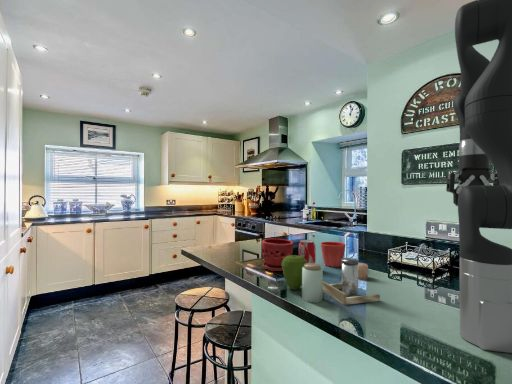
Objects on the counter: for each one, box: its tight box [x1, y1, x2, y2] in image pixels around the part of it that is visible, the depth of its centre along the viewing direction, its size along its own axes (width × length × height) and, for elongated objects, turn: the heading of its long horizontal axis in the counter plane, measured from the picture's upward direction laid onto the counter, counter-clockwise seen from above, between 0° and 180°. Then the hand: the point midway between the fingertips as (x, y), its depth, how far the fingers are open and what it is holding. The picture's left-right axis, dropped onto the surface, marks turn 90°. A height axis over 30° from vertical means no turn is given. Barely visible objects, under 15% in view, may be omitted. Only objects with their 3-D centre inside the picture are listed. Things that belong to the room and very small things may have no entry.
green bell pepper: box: [281, 254, 307, 291], centre depth 90 cm, size 9×8×12 cm
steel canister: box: [341, 257, 359, 297], centre depth 85 cm, size 5×5×11 cm
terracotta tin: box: [358, 262, 369, 281], centre depth 104 cm, size 6×6×5 cm
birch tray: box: [322, 280, 381, 306], centre depth 84 cm, size 12×12×3 cm
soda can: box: [297, 239, 317, 264], centre depth 114 cm, size 7×7×12 cm
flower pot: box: [320, 241, 346, 268], centre depth 122 cm, size 11×11×10 cm
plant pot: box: [261, 238, 294, 272], centre depth 114 cm, size 13×13×12 cm
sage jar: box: [301, 262, 324, 304], centre depth 81 cm, size 6×6×10 cm
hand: (473, 206), depth 85 cm, fingers open, 8 cm apart
